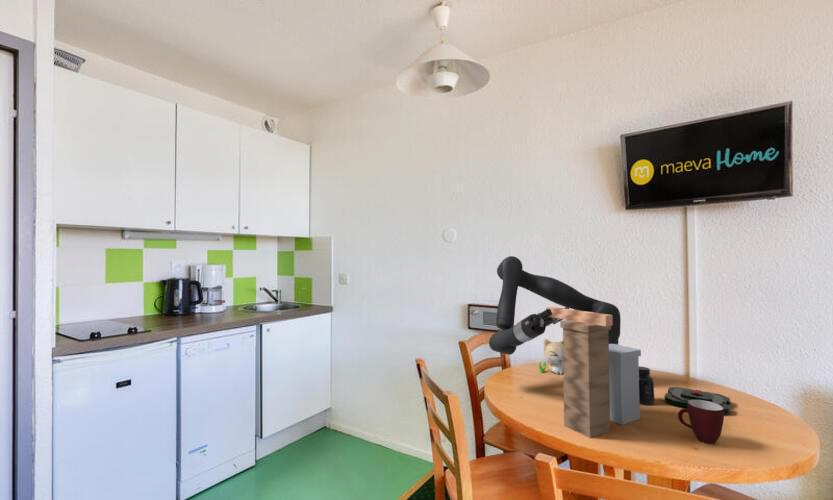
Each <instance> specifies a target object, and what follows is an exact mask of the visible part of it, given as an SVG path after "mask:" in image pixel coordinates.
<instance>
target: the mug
mask: <svg viewBox="0 0 833 500" xmlns="http://www.w3.org/2000/svg"><path fill="white" fill-rule="evenodd" d="M685 413H686V414H688V419H689V423H687V422H686V421H685V420H684V419H683V414H685ZM677 418H678V421H679V422H680V424H682V425H683V426H685V427H687V428H689V429H691V430H692V433H693V434H694V436H695V438H696V439H697V440H698V441H699V442H701V443H703V442H704V443H703V444H706V443H707V444H706V445H715V444H716V443H717V442H718V440H719V439H720V438H721V434H722V430H723V425H724V420H725V413H724V408H723V407H722V406H721V405H719V404H716V403H713V402H709V401H704V400H689V401H688V407H687V408H681V409H680V410H679V411H678V414H677Z"/></svg>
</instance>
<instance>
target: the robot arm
mask: <svg viewBox="0 0 833 500" xmlns="http://www.w3.org/2000/svg"><path fill="white" fill-rule="evenodd" d="M496 273H497V276H498V278H499V279H500V280H502V287H501V292H500V297H499V301H498V304H497V310H496V319H495V326H496V327H497V329H500V330H499V331H497V332H495V333H493V334H492V335H491V336H490V338H489V341H488V345H489V346H488V347H489V348H490V349H491V350H492V351H494V352H497V353H501V354H504V355H509V356H510V355H513V354H514V353H515V352H516V349H517V347H519V346H522V345H523V344H525V343H526V342H530V341H532V340H533V339H536V338H537V337H539V336H541V335H543V334H544V333H545V331H546V327H549V326H551V325H552V324H553V325H556V324H558V323H560V321H564V319H559V318H553V317H549V316H551V315H552V312H551V310H550V309H546V308H545V309H544V310H543V311H541V312H538V313H532V314H529V315H528V316H526V317H525V318H523V319H522V320H519V321H518V322H517V323H516V324H515V318H516V317H515V315H516V306H517V305H516V304H517V302H516V301H517V297H518V296H517V294H518V289H519V287H520V288H522V289H525V290H526V291H530V292H531V293H533V294H535V295H537V296H539V297H541V298H544V299H545V300H547V301H550V302H551V303H554V304H556V305H559V306H562V307H564V308H565V309H572V310H580V311H587V312H594V313H601V314H609V315H612V317H613V326H611V330H608V336H609V344H616V345H619V341H620V340H619V338H620V337H621V320H622V319H621V312H620V309H619V308H618V307H617V306H616V305H615V304H612V303H611V302H610V303H609V302H607V301H601V300H599V299H596V298H593V297H590V296H587V295H585V294H584V293H582V292H580V291H579V290H577V289H575V288H574V287H572V286H571V285H569V284H567V283H565V282H564V281H563V282H562V281H560V280H558V279H556V278H553V277H550V276H544V275H537V274H533V273H530V272H528V271H526V270H523V263H522V261H521V260H520V258H518V257H516V256H515V255H514V256H511V255H509V256H506V257H505V258H504V259H503V260H502V261H500V263H499V264H498V266H497V267H496Z"/></svg>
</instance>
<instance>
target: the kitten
mask: <svg viewBox="0 0 833 500" xmlns="http://www.w3.org/2000/svg"><path fill="white" fill-rule="evenodd" d="M543 356H544V360H545V361H544V363H543V364H542V361H540V362H539V364H538V367H539V373H541V374H545V373H544V372H545V370H546V368H547V364H546V362H547V363H548V364H549V366H548V370H549V371H550V372H551V373H554V374H556V375H558V374H559V375H563V374H564V368H563V339H562V340H560V341H553V342H552V341H550V340H549V339H547V338H544V339H543ZM542 365H543V366H542Z"/></svg>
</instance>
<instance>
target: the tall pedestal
mask: <svg viewBox="0 0 833 500" xmlns="http://www.w3.org/2000/svg"><path fill="white" fill-rule="evenodd" d="M559 326H560V328H562V340H563V368H564V372H563V412H564V413H563V415H564V416H563V420H564V421H563V422H564V423H563V424H564V427H567V428H569V429H570V430H573V431H575V432H577V433H579V434H581V435H583V436H585V437H588V438H589V439H590V438H593V437H596V436H599V435H603V434H605V433H608V432H610V431H611V420H610V390H609V336H608V330H611V326H601V325H595V324H589V323H583V322H577V321H571V320H565V319H563V320H562V321H560V322H559Z"/></svg>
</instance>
